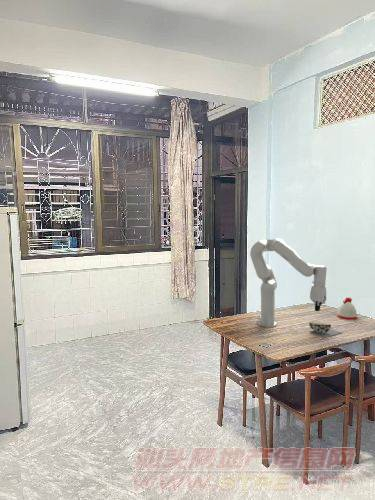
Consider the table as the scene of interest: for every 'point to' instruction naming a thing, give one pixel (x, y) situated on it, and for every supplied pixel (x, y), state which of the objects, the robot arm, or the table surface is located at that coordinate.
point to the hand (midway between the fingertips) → (317, 310)
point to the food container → (320, 327)
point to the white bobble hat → (347, 310)
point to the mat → (328, 333)
